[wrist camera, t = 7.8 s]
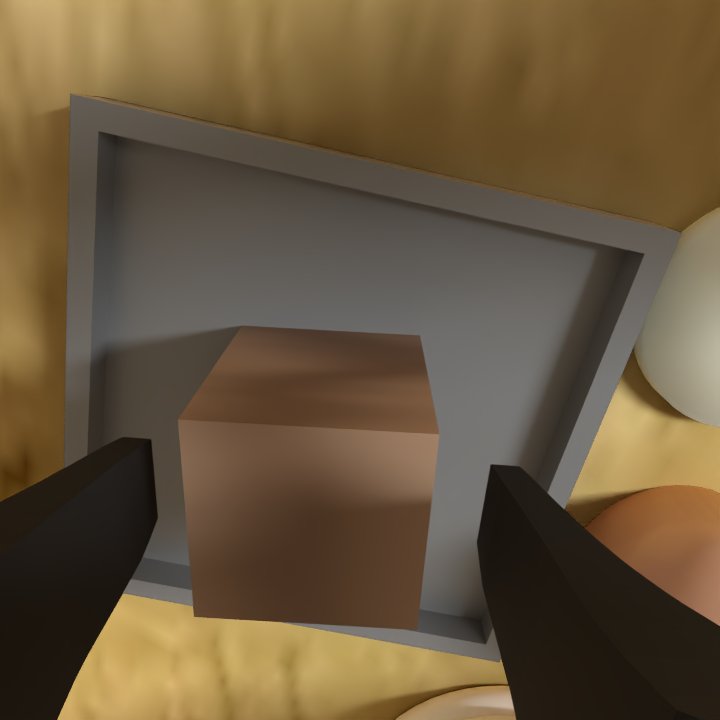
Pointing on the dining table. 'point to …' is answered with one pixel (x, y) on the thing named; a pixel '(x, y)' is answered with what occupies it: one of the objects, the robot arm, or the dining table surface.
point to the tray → (342, 315)
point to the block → (310, 478)
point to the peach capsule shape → (669, 541)
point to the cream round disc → (466, 705)
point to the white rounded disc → (687, 326)
